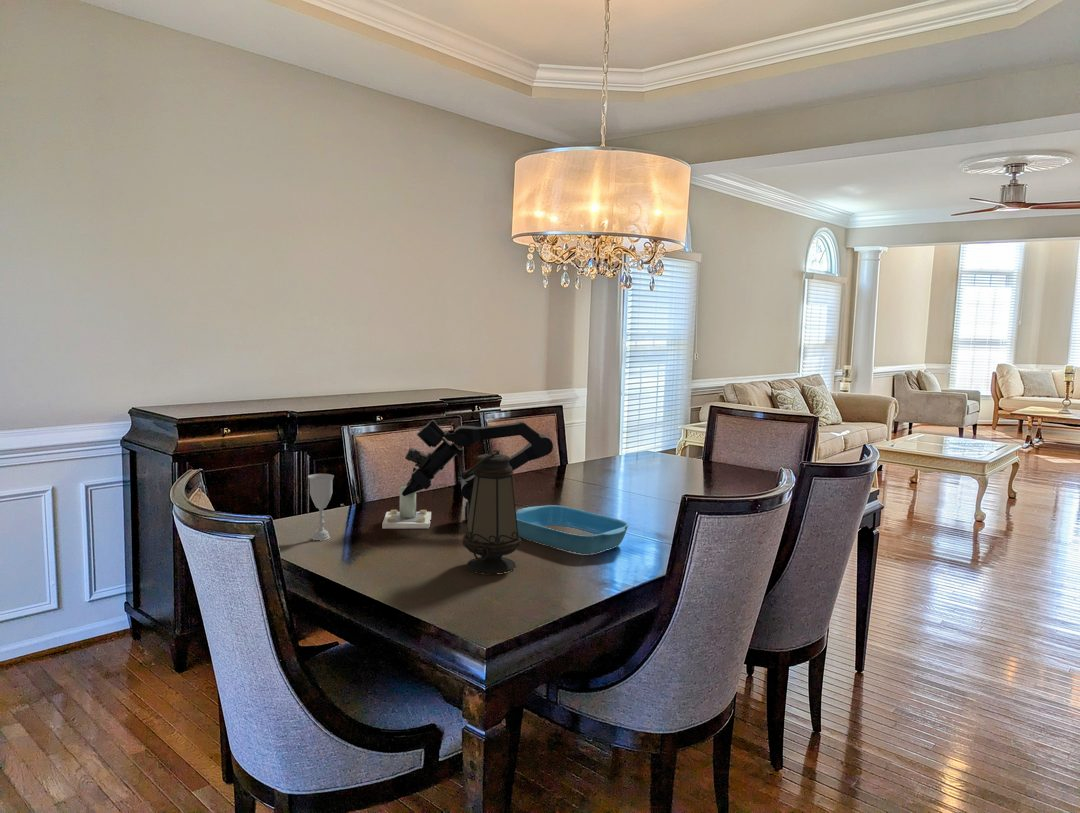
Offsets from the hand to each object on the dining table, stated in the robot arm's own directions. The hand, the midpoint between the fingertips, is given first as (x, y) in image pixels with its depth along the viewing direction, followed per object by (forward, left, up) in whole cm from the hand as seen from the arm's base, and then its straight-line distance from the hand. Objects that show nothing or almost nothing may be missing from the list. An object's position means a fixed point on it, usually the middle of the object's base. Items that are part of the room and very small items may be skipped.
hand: (403, 492), depth 224 cm
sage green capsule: (-1, -1, -7) cm, 7 cm away
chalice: (+5, +27, -9) cm, 29 cm away
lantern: (-47, +15, -9) cm, 50 cm away
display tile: (-1, -1, -9) cm, 9 cm away
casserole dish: (-50, -16, -10) cm, 54 cm away
